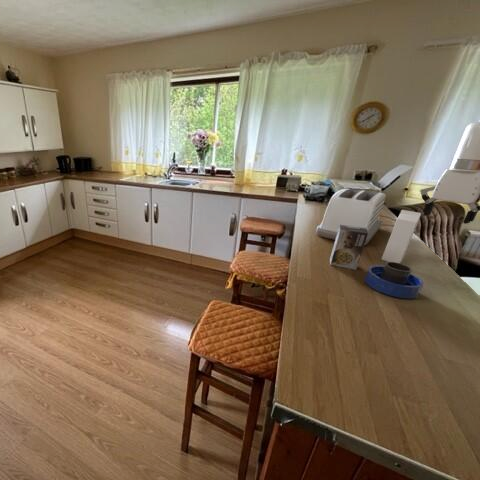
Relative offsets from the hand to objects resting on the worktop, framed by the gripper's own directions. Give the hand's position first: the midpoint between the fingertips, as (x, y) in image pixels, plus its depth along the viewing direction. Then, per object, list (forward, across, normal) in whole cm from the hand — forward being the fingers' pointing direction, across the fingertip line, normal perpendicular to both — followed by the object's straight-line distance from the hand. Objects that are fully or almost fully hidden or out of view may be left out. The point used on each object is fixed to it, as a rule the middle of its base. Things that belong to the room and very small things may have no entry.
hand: (445, 218), depth 85 cm
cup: (+24, +2, +14) cm, 28 cm away
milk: (+25, +14, -13) cm, 31 cm away
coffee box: (+24, +20, +11) cm, 34 cm away
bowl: (+24, +2, +14) cm, 28 cm away
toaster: (+24, +44, -33) cm, 60 cm away
